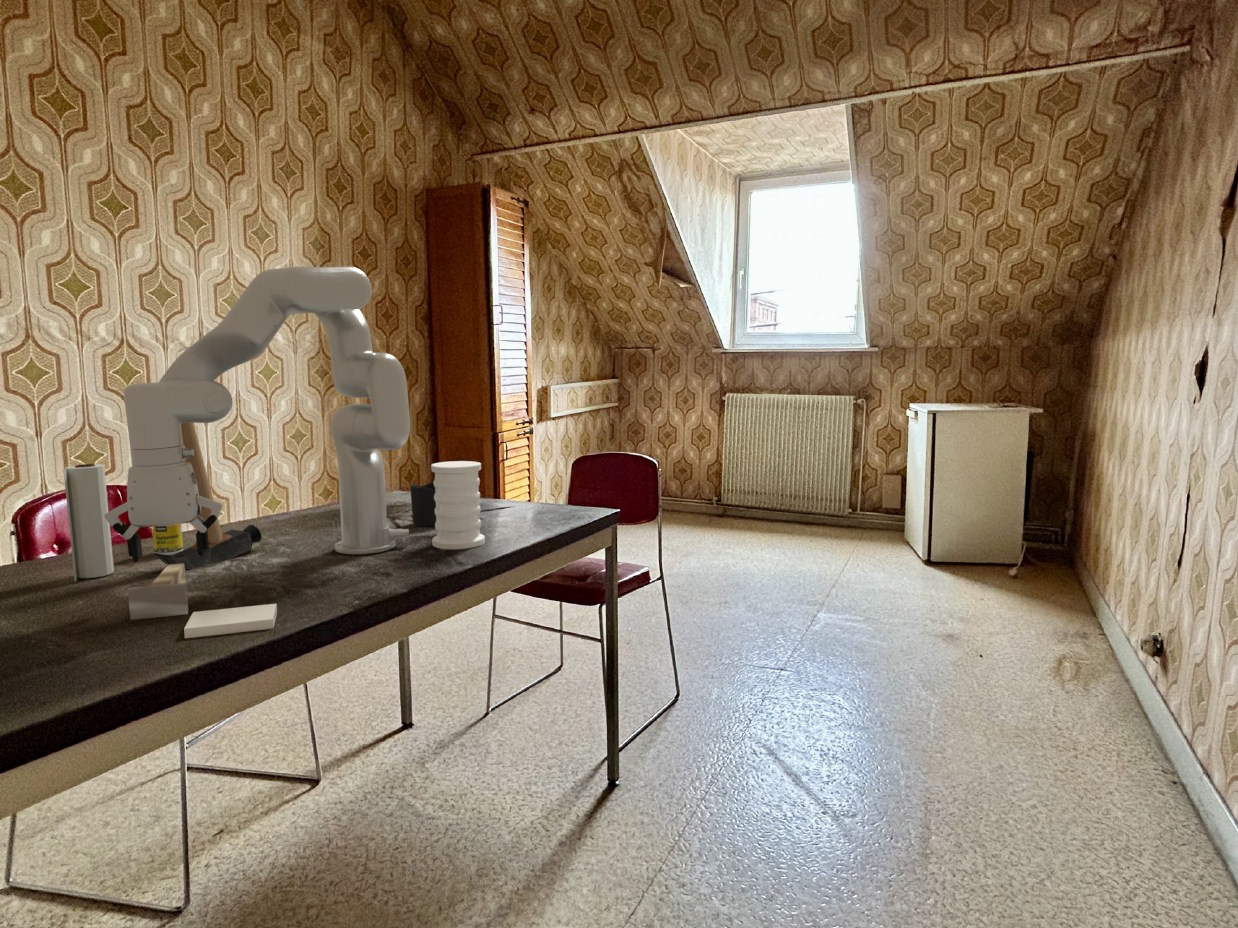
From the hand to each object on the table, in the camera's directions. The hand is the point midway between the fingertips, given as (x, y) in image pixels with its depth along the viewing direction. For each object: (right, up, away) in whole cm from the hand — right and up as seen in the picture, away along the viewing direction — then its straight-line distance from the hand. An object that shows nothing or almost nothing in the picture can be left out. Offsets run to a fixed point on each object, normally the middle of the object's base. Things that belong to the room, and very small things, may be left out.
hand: (170, 556), depth 129 cm
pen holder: (+28, 0, +64) cm, 70 cm away
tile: (+15, -8, -7) cm, 18 cm away
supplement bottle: (-21, -4, +34) cm, 40 cm away
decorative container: (+40, -2, +42) cm, 58 cm away
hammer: (-8, -4, +28) cm, 30 cm away
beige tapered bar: (0, -8, +1) cm, 8 cm away
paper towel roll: (-25, -6, +17) cm, 31 cm away
